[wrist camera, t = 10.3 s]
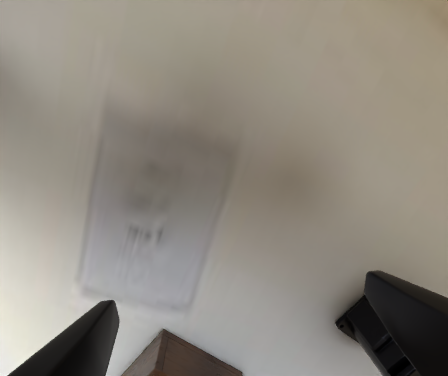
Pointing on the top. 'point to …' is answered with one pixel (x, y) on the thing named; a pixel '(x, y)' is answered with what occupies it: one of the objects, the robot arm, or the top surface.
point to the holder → (177, 360)
